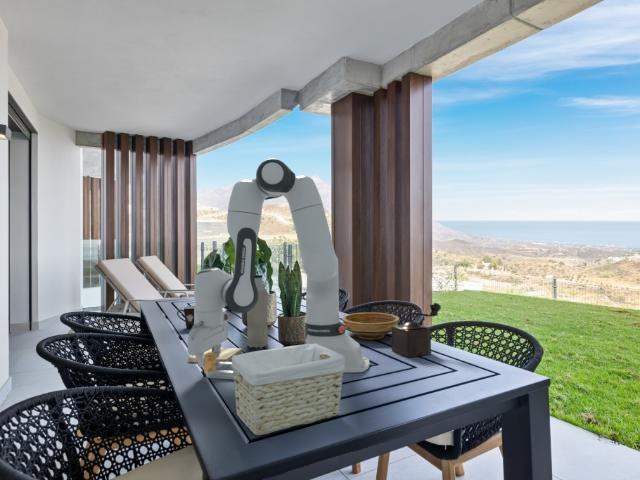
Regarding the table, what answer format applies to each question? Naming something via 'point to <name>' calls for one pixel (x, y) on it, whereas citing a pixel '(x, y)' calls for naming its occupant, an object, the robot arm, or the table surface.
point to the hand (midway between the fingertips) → (208, 361)
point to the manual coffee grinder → (413, 335)
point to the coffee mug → (188, 316)
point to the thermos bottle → (258, 317)
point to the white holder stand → (217, 368)
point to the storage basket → (287, 386)
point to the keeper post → (221, 354)
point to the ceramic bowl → (370, 324)
